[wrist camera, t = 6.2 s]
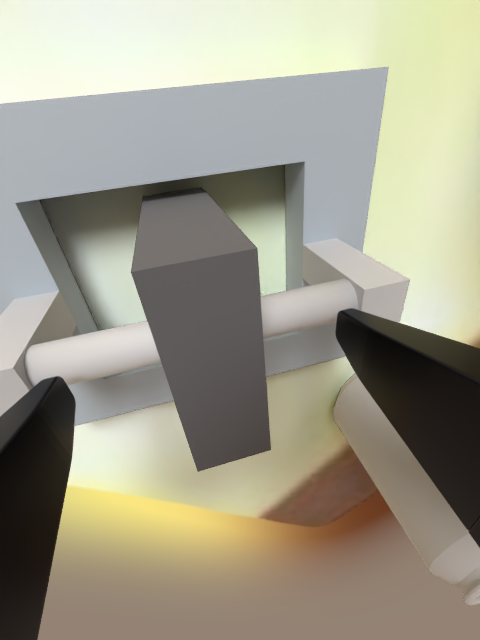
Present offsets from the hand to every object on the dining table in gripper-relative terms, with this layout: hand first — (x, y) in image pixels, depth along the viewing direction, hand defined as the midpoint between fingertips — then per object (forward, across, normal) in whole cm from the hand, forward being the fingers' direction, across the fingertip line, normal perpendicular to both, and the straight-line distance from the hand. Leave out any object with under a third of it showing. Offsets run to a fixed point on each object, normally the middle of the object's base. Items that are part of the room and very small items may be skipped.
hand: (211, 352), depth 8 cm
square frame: (+7, 0, 0) cm, 7 cm away
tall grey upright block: (+6, 0, 0) cm, 7 cm away
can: (+7, -12, +13) cm, 19 cm away
